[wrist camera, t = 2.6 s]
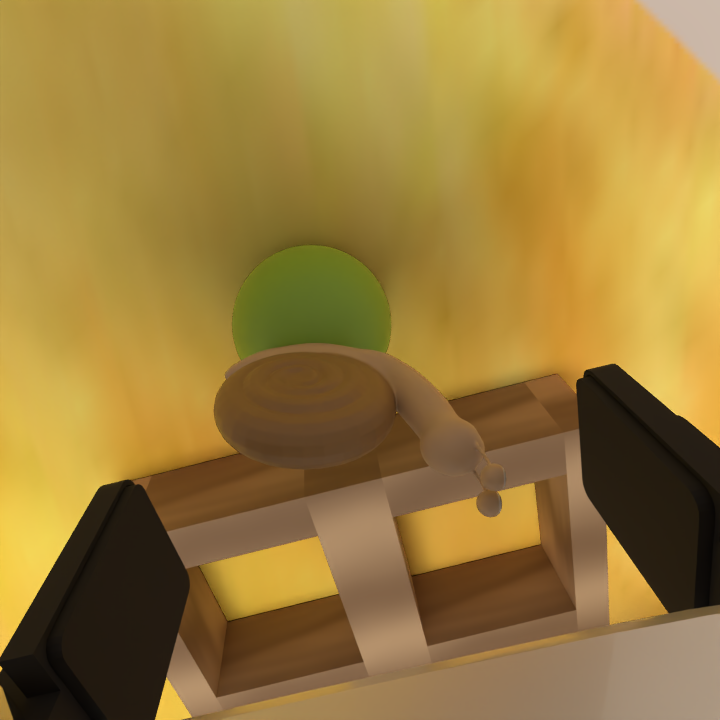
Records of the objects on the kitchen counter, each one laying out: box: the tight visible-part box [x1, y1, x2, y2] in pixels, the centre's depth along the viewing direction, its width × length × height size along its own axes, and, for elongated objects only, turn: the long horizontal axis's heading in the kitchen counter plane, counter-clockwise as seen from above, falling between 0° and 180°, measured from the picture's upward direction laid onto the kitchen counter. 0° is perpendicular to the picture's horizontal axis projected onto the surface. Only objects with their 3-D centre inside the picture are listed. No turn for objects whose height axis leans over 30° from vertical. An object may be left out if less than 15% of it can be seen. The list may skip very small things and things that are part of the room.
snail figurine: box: [214, 245, 506, 517], centre depth 16 cm, size 5×6×12 cm
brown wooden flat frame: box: [132, 374, 609, 717], centre depth 24 cm, size 12×20×4 cm, turn 103°
